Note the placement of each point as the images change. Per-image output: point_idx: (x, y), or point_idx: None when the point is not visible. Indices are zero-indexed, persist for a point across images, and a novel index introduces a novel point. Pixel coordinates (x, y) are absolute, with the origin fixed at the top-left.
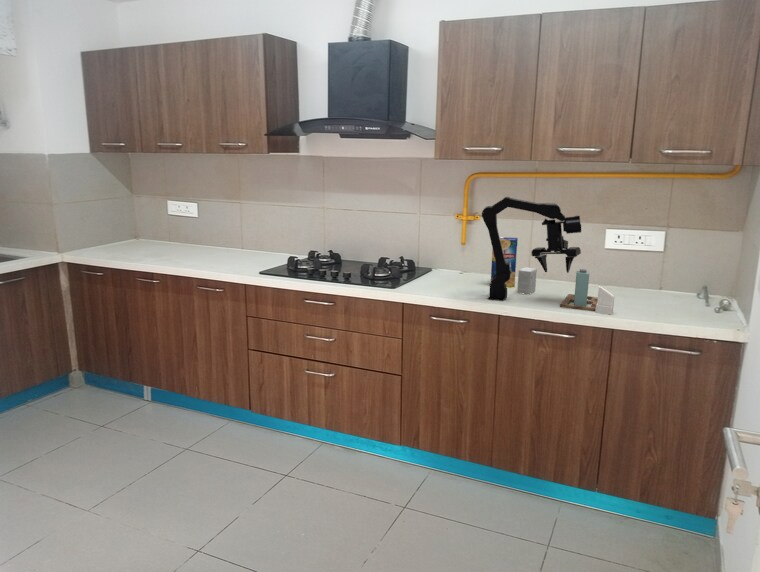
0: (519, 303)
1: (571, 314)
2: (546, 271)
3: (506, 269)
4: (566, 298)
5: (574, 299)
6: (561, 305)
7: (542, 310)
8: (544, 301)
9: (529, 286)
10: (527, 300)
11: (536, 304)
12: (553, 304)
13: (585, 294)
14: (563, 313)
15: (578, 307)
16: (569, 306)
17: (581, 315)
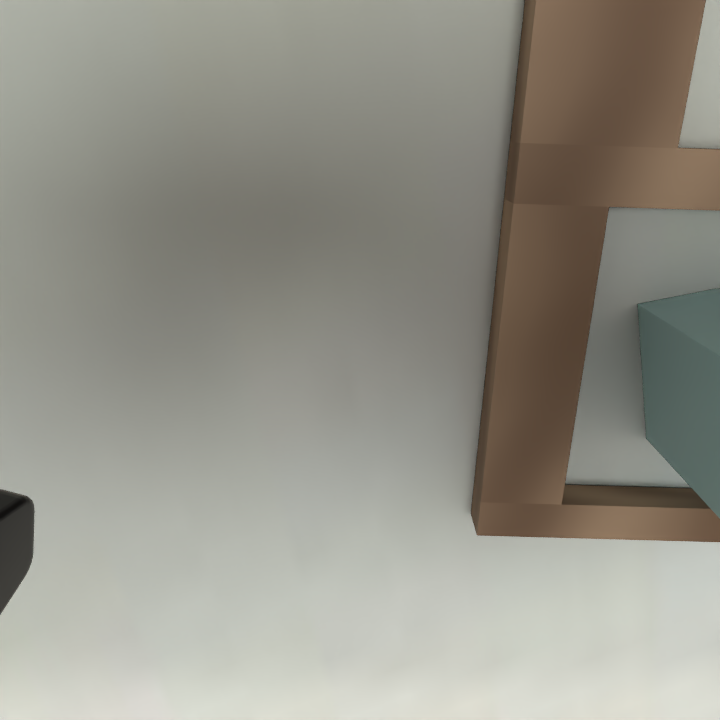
0: None
1: (612, 712)
2: (17, 564)
3: None
4: (540, 192)
5: (676, 374)
6: (496, 526)
7: (319, 698)
8: (245, 335)
9: None
10: (31, 385)
11: (196, 516)
12: (384, 430)
13: None
14: (534, 711)
15: (700, 533)
16: (592, 528)
17: (710, 705)
